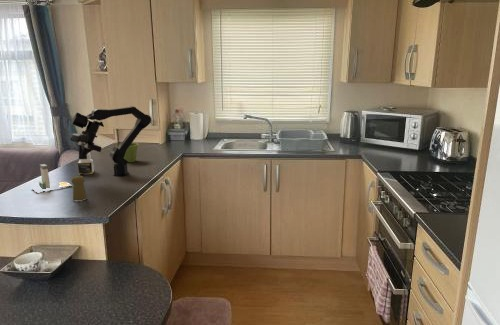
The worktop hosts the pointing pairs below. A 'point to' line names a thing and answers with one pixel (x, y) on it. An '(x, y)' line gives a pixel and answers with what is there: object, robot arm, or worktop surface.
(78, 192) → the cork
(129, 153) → the plant pot
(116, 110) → the robot arm
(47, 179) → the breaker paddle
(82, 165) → the medicine bottle
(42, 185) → the base
